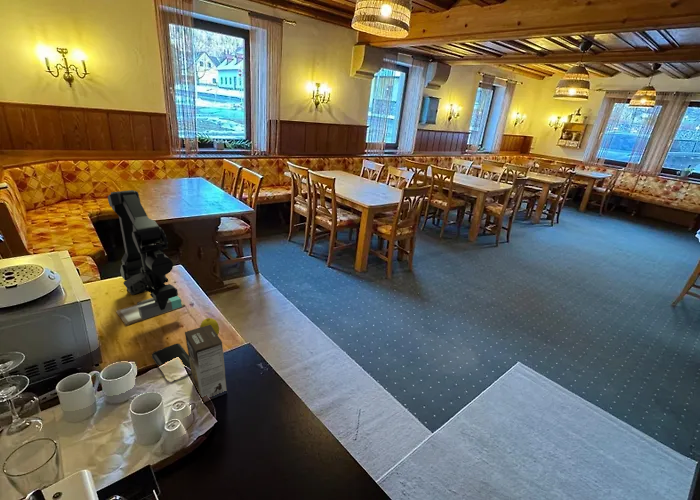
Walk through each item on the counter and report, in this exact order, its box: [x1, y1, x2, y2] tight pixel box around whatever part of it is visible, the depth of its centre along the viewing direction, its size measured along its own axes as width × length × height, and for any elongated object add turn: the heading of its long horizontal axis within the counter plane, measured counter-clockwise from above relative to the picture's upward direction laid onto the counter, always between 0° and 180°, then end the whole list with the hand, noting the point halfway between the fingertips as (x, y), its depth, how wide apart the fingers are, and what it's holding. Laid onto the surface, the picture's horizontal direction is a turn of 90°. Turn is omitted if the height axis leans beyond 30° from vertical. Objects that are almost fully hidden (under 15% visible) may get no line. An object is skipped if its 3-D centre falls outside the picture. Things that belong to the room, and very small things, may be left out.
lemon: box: [199, 317, 220, 336], centre depth 106 cm, size 6×6×8 cm
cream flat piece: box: [115, 297, 186, 326], centre depth 122 cm, size 11×19×1 cm, turn 136°
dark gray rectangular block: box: [138, 295, 183, 320], centre depth 113 cm, size 3×12×3 cm, turn 136°
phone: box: [151, 343, 190, 367], centre depth 97 cm, size 8×1×15 cm
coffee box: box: [184, 325, 228, 397], centre depth 86 cm, size 9×6×16 cm
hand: (160, 307), depth 113 cm, fingers closed on dark gray rectangular block, 3 cm apart
